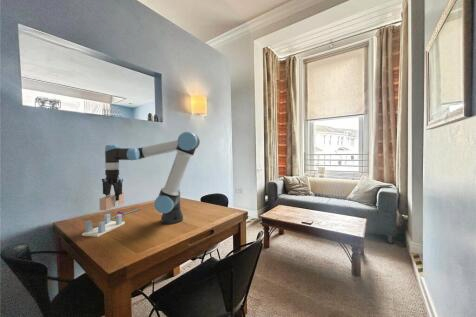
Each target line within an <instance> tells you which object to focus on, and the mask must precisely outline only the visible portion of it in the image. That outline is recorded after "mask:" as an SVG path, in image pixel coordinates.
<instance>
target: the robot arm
mask: <svg viewBox="0 0 476 317" xmlns="http://www.w3.org/2000/svg"><path fill="white" fill-rule="evenodd" d="M200 141H201V140H200V138H199V136H198V135H197V134H196V133H194V132H192V131H184V132H182V133H181V134H180V135H178V138H177V139H176V140H175V139H174V140H171V141H166V142H162V143H161V142H160V143H156V144H151V145H147V146H142V147H138V148H133V147H130V148H129V147H125V148H123V147H120V145H118V144H107V145H104V146H105V148H104V158H105V162H104V168H105V170H104V175H105V177H104V178H101V182H102V194H103V195H105V197H106V196H109V195H111V190H112V187H113V191H114V194H115V195H114V206H115V207H117V205H118V200H119V195H121V194H122V193H123V181H124V179H123V178H120V177H119V175H120V169H119V168H120V161H137V160H142V159H147V158H149V157H154V156H159V155H164V154H169V153H173V152H176V155H175V157H174V160H173V164H172V165H171V168H170V171H169V173H168V176H167V178H166V182H165V185H164V187H162V188H160V191H159V194H158V196H157V197H156V198H155V200H154V204H153V205H154V208H155V210H156V211H157V212H158V213H161V215H162V216H161V219H160V220H161V221H160V222H161V223H162V224H164V225H167V224H168V225H172V224H177V223H181V222H182V221H183V220H184V215H183V212H182V209H181V190H180V185H181V183H182V180H183V177H184V175H185V171H186V169H187V166H188V164H189V162H190V159H191V157H193V156H194V154H195V152H196V149H198V148H199V146H200V144H201V143H200ZM118 206H119V205H118Z"/></svg>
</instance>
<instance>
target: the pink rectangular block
mask: <svg viewBox="0 0 476 317" xmlns="http://www.w3.org/2000/svg"><path fill="white" fill-rule="evenodd" d="M114 195H115V193H113V194H110V195H109V196H106V195H105V196H104V197H100V198H99V199H98V200H99V211H108V210H110V209H112V208H115V207H117V206H120V205H122V204H124V203H125V193H124V192H122V194H121V195H119V200H118V205H117V206H114Z"/></svg>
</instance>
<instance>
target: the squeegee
mask: <svg viewBox="0 0 476 317" xmlns="http://www.w3.org/2000/svg"><path fill="white" fill-rule="evenodd" d="M136 211H141V208H137V209H134V210H131V211H128V212H124V211H117V214H122V216H123V215H127V214H131V213H133V212H136ZM114 218H116V215H115V216H112V217H110V219H114Z"/></svg>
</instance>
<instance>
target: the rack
mask: <svg viewBox="0 0 476 317" xmlns="http://www.w3.org/2000/svg"><path fill="white" fill-rule="evenodd" d="M103 216H104V217H103V219H104V221H103V220H101V221H100V222H97V227H94V228H93V226H94V225H93V220H88V221H85V222H84V223H85V224H84V226H85V230H84V231H85V232H83V233H81V236H82V237H94V238H95V237H97V238H99V237H101V236H102V235H104V234H106V233H108V232H111V231H113V230H115V229H116V228H118V227H121V226H122V225H125V221H123V215H122V214H121V213H118V214H117V215H115V216H116V217H115V221H114V220H111V219H112V218H111V213H106V214H104V215H103ZM110 218H111V219H110Z"/></svg>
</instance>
